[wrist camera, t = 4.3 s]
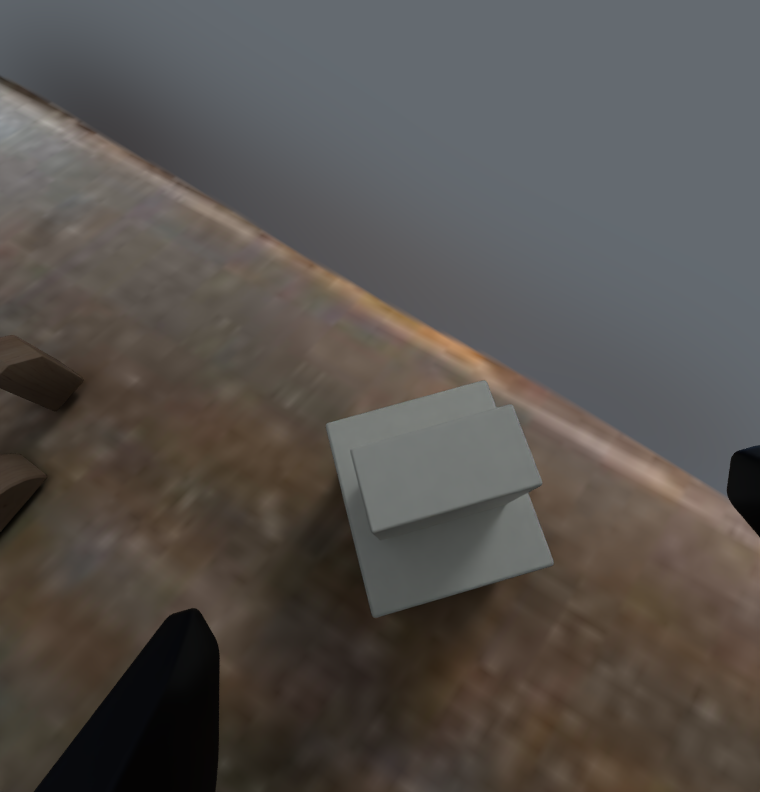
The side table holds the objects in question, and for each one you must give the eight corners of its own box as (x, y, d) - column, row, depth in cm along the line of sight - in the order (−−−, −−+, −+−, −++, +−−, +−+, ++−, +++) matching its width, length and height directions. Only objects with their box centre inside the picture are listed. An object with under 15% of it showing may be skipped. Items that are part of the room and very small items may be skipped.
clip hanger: (508, 563, 16) (613, 567, 8) (381, 600, 16) (361, 642, 8) (462, 429, 18) (513, 321, 10) (346, 461, 17) (299, 379, 9)
